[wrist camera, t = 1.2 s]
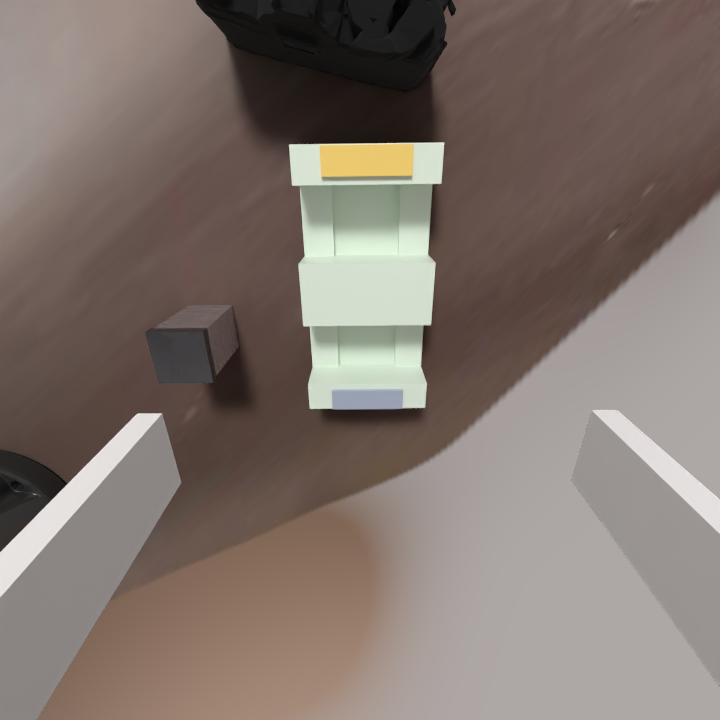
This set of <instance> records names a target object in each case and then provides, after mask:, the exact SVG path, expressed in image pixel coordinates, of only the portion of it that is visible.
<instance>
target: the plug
mask: <svg viewBox="0 0 720 720" xmlns="http://www.w3.org/2000/svg"><path fill="white" fill-rule="evenodd" d="M145 334H146V337H147V341H148V345H149V349H150V352H151V356H152V360H153V363H154V367H155V371H156V374H157V378H158V382H159V383H213V382H214V381H215V380H216V379H217V376H216V375H217V374H218V373H219V372H220V370H221V369H222V368H223V366H224V365H225V364H226V362H227V361H228V360H229V359H230V357H231V356H232V355H233V353H234V352H235V351H236V349H237V348H238V347H239V345H238V338H237V332H236V326H235V320H234V313H233V307H232V305H204V306H186V307H185V308H183V309H182V310H181V311H179V312H178V313H176V314H175V315H173V316H172V317H170V318H169V319H167V320H166V321H164V322H163V323H162V324H160V325H159V326H157V327H156V328H151V329H149V330H148V331H146V332H145Z"/></svg>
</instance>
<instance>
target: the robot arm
mask: <svg viewBox="0 0 720 720" xmlns="http://www.w3.org/2000/svg"><path fill="white" fill-rule="evenodd" d="M571 481H572V482H573V483H574V485H575V486H576V487H577V489H578V491H579V492H580V493H581V495H582V496H583V497H584V499H585V500H586V502H587V503H588V504H589V506H590V507H591V508H592V510H593V511H594V513H595V514H596V516H597V517H598V518H599V520H600V521H601V523H602V524H603V525H604V526H605V528H606V529H607V531H608V532H609V534H610V535H611V536H612V538H613V539H614V541H615V542H616V543H617V545H618V546H619V548H620V549H621V550H622V552H623V553H624V555H625V556H626V557H627V559H628V560H629V562H630V563H631V564H632V566H633V567H634V569H635V570H636V571H637V573H638V574H639V576H640V577H641V578H642V580H643V581H644V582H645V584H646V585H647V587H648V588H649V589H650V591H651V592H652V594H653V595H654V596H655V598H656V599H657V600H658V602H659V603H660V605H661V606H662V608H663V609H664V610H665V612H666V613H667V614H668V616H669V617H670V619H671V620H672V621H673V623H674V624H675V626H676V627H677V628H678V630H679V631H680V633H681V634H682V635H683V637H684V638H685V640H686V641H687V642H688V644H689V645H690V647H691V648H692V649H693V651H694V652H695V654H696V655H697V656H698V658H699V659H700V661H701V662H702V663H703V665H704V666H705V667H706V669H707V670H708V672H709V673H710V674H711V676H712V677H713V679H714V680H715V681H716V683H717V684H718V686H719V687H720V499H718V498H717V497H716V496H715V495H714V494H713V493H712V492H711V491H709V490H708V489H707V488H706V487H705V486H704V485H703V484H701V483H700V482H699V481H698V480H697V479H696V478H694V477H693V476H692V475H691V474H690V473H689V472H687V471H686V470H685V469H684V468H683V467H682V466H681V465H680V464H678V463H677V462H676V461H675V460H674V459H672V457H670V456H669V455H668V454H667V453H666V452H665V451H663V450H662V449H661V448H660V447H659V446H658V445H656V444H655V443H654V442H653V441H652V440H651V439H650V438H648V437H647V436H646V435H645V434H644V433H643V432H642V431H640V430H639V429H638V428H637V427H636V426H635V425H633V424H632V423H631V422H630V421H629V420H628V419H627V418H625V417H624V416H623V415H622V414H621V413H620V412H619V411H617V410H592V411H591V414H590V417H589V421H588V424H587V427H586V431H585V435H584V438H583V441H582V444H581V448H580V451H579V455H578V458H577V461H576V465H575V468H574V471H573V475H572V478H571ZM180 484H181V480H180V476H179V473H178V469H177V466H176V462H175V458H174V455H173V451H172V447H171V444H170V440H169V437H168V433H167V429H166V426H165V422H164V418H163V415H162V413H160V414H136V415H135V416H134V417H133V418H132V420H131V421H130V422H129V423H128V424H127V425H126V426H125V427H124V428H123V429H122V430H121V431H120V432H119V433H118V434H117V435H116V436H115V437H114V438H113V439H112V440H111V441H110V442H109V443H108V444H107V445H106V446H105V447H104V448H103V449H102V450H101V451H100V452H99V453H98V454H97V455H96V456H95V457H94V458H93V459H92V460H91V461H90V462H89V463H88V464H87V465H86V466H85V467H84V468H83V469H82V470H81V471H80V472H79V473H78V474H77V475H76V476H75V477H74V478H73V479H72V480H71V481H70V482H69V483H68V484H67V485H66V484H65V483H64V482H63V481H62V480H61V479H60V478H58V477H57V476H56V475H55V474H54V473H52V472H51V471H50V470H48V469H47V468H45V467H43V466H42V465H40V464H38V463H36V462H34V461H32V460H30V459H28V458H26V457H23V456H20V455H17V454H14V453H11V452H7V451H2V450H0V720H37V718H38V717H39V715H40V713H41V712H42V710H43V709H44V707H45V705H46V704H47V702H48V700H49V699H50V697H51V695H52V694H53V692H54V691H55V689H56V687H57V686H58V684H59V682H60V681H61V679H62V677H63V676H64V674H65V673H66V671H67V669H68V667H69V666H70V664H71V663H72V661H73V659H74V658H75V656H76V654H77V653H78V651H79V649H80V648H81V646H82V645H83V643H84V641H85V639H86V638H87V636H88V635H89V633H90V631H91V630H92V628H93V627H94V625H95V623H96V622H97V620H98V618H99V617H100V615H101V613H102V612H103V610H104V608H105V607H106V605H107V604H108V602H109V600H110V599H111V597H112V595H113V594H114V592H115V590H116V589H117V587H118V586H119V584H120V582H121V581H122V579H123V577H124V576H125V574H126V572H127V571H128V569H129V567H130V566H131V564H132V563H133V561H134V559H135V558H136V556H137V554H138V553H139V551H140V549H141V548H142V546H143V544H144V543H145V541H146V540H147V538H148V536H149V535H150V533H151V531H152V530H153V528H154V526H155V525H156V523H157V521H158V520H159V518H160V517H161V515H162V513H163V512H164V510H165V508H166V507H167V505H168V503H169V502H170V500H171V499H172V497H173V495H174V494H175V492H176V490H177V489H178V487H179V485H180Z"/></svg>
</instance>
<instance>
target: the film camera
mask: <svg viewBox="0 0 720 720" xmlns="http://www.w3.org/2000/svg"><path fill="white" fill-rule="evenodd" d="M196 3H197V5H198V6H199V7H200V8H201V10H202V11H203V12H204V13H205V14H206V15H207V16H208V17H210V18H211V19H212V21H213V22H214V23H215V24H216V25H217V26H218V27H219V29H220V30H221V31H222V32H223V33H224V34H225V36H226V37H227V39H228V40H229V41H230V42H231V43H232V44H233V45H234V46H235V47H236V48H238V49H242V50H245V51H248V52H250V53H253V54H256V55H261V56H267V57H270V58H273V59H276V60H279V61H284V62H288V63H292V64H295V65H299V66H303V67H307V68H311V69H315V70H318V71H322V72H326V73H330V74H334V75H338V76H342V77H345V78H349V79H353V80H356V81H359V82H363V83H367V84H371V85H376V86H381V87H387V88H391V89H396V90H401V91H404V92H407V91H411V90H415V89H416V88H417V87H418V86H419V84H420V83H421V82H422V81H423V80H424V78H425V77H426V75H427V73H428V72H429V71H431V70H432V68H433V67H434V65H435V63H436V61H437V60H438V58H439V57H440V55H441V54H442V52H443V50H444V48H445V47H446V46H447V42H446V41H444V38H445V32H446V26H447V25H446V23H445V17H444V11H445V9H446V7H447V5H448V9H449V11H450V14H451V16H453V15H454V14H455V11H456V8H455V6H454V4H453V2H452V0H196Z"/></svg>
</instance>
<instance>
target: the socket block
mask: <svg viewBox="0 0 720 720" xmlns="http://www.w3.org/2000/svg"><path fill="white" fill-rule="evenodd" d="M289 151H290V164H291V177H292V186H300V196H301V210H302V224H303V238H304V252H305V257H304V258H303V259H302V260H301V262H300V263H299V264H298V265H299V277H300V290H301V303H302V315H303V326H310V336H311V350H312V364H313V368H312V372H311V375H310V379H309V383H308V391H309V404H310V409H402V408H425V400H426V386H427V383H426V380H425V377H424V374H423V371H422V368H421V355H422V340H423V325H431V318H432V304H433V290H434V277H435V262H434V261H433V260H432V259H431V258H430V257H429V256H428V246H429V230H430V215H431V199H432V184H441V181H442V167H443V153H444V142H438V143H362V144H289Z"/></svg>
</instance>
